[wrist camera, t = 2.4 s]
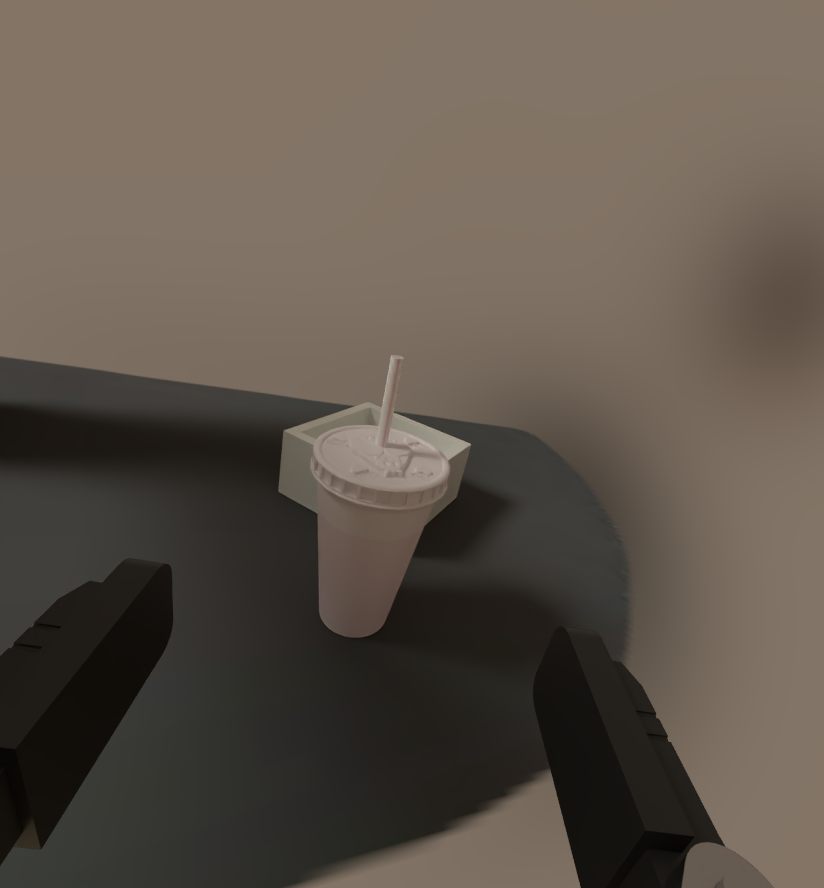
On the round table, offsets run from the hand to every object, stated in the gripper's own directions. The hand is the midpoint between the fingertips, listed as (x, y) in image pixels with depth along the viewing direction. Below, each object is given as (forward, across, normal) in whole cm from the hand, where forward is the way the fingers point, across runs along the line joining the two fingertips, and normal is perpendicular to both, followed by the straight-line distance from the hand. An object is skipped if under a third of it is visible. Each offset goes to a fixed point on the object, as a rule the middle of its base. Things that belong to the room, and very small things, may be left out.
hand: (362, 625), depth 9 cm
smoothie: (+12, 0, +11) cm, 16 cm away
